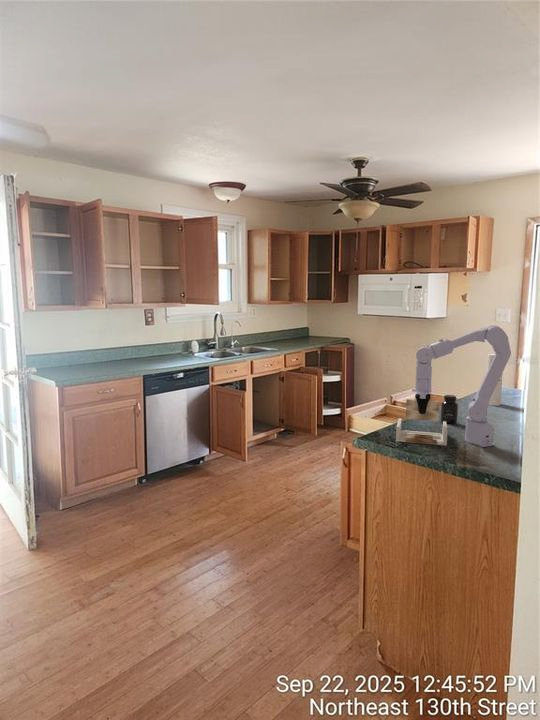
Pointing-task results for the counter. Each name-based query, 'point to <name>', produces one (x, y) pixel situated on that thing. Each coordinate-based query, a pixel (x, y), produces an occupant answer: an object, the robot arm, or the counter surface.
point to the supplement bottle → (449, 410)
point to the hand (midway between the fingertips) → (422, 413)
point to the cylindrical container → (496, 394)
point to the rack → (436, 436)
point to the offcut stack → (421, 439)
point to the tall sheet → (430, 414)
